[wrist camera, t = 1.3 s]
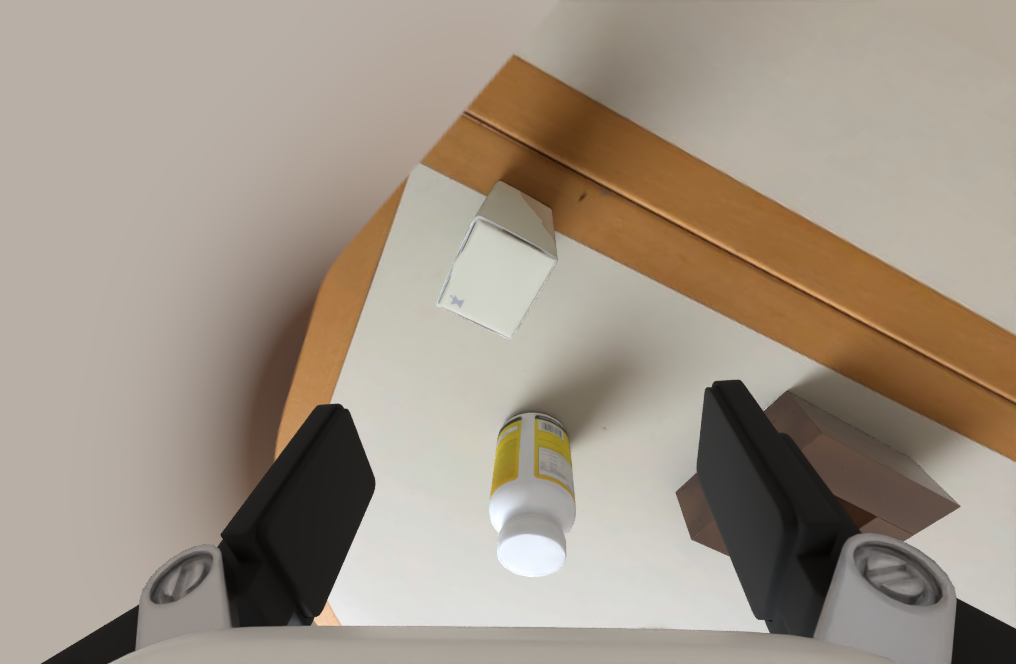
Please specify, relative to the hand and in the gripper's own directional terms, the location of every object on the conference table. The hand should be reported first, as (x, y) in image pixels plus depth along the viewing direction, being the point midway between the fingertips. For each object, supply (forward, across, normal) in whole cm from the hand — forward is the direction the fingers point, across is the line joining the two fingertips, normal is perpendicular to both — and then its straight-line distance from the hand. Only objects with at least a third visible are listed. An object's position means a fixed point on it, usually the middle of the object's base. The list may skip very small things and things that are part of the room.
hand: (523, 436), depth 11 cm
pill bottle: (+21, +2, +19) cm, 28 cm away
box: (+21, +2, 0) cm, 21 cm away
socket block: (+21, -21, +25) cm, 39 cm away
